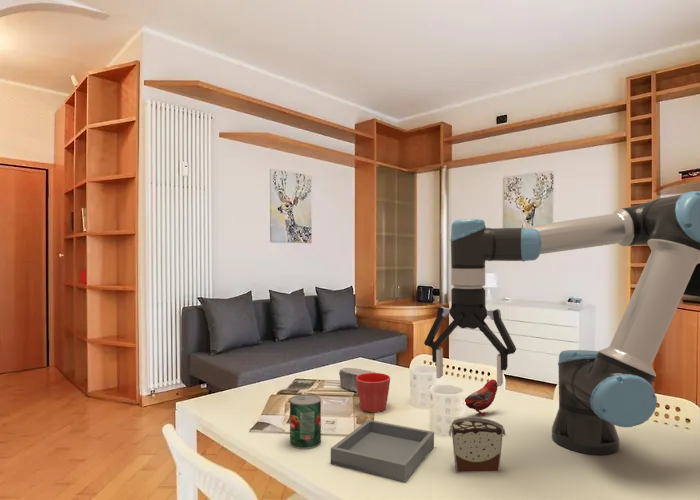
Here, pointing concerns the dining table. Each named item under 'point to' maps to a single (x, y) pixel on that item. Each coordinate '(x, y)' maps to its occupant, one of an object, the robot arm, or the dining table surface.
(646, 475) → the dining table surface
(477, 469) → the food container
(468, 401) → the decorative bird figurine
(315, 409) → the canned tomato
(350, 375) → the decorative stone
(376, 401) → the flower pot
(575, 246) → the robot arm
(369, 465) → the tray
